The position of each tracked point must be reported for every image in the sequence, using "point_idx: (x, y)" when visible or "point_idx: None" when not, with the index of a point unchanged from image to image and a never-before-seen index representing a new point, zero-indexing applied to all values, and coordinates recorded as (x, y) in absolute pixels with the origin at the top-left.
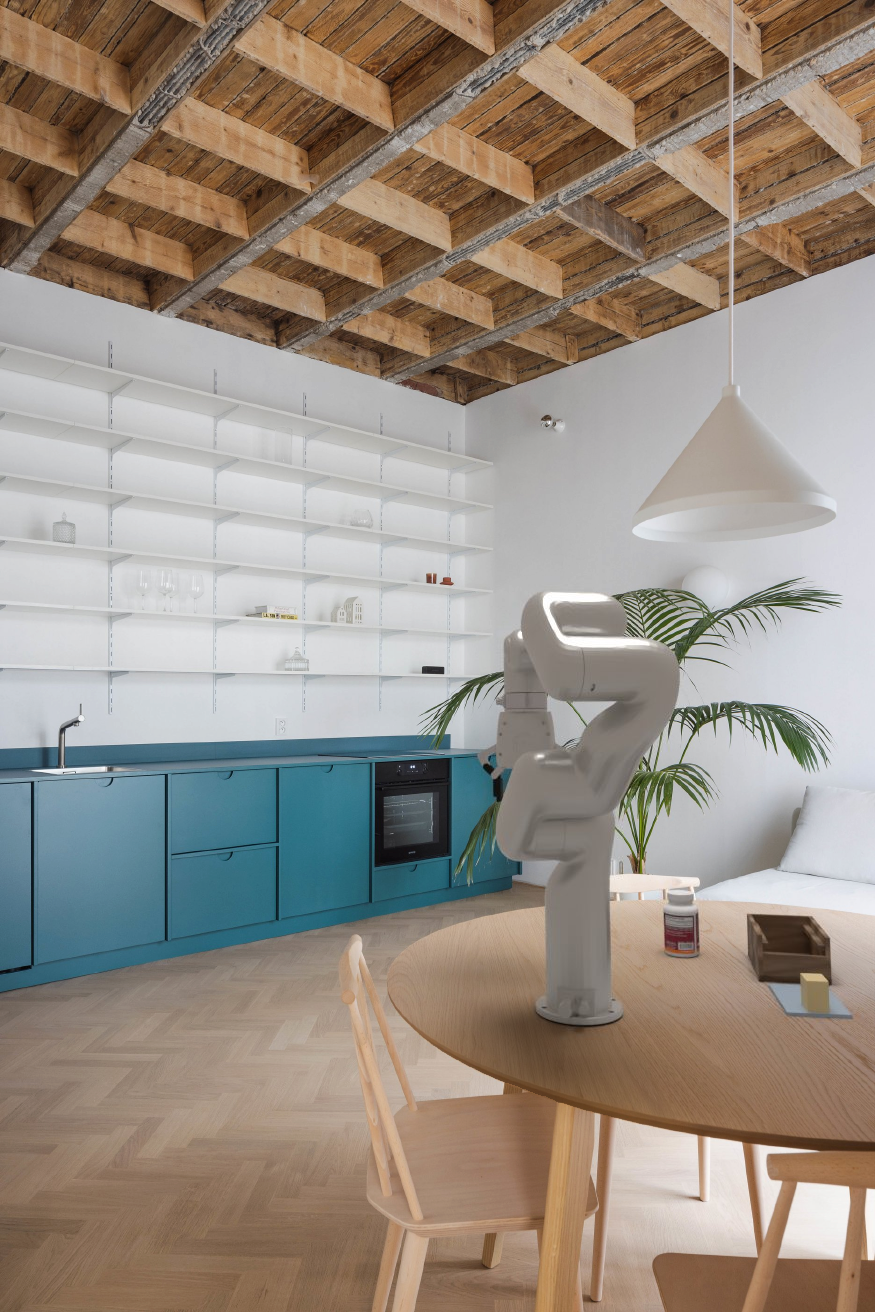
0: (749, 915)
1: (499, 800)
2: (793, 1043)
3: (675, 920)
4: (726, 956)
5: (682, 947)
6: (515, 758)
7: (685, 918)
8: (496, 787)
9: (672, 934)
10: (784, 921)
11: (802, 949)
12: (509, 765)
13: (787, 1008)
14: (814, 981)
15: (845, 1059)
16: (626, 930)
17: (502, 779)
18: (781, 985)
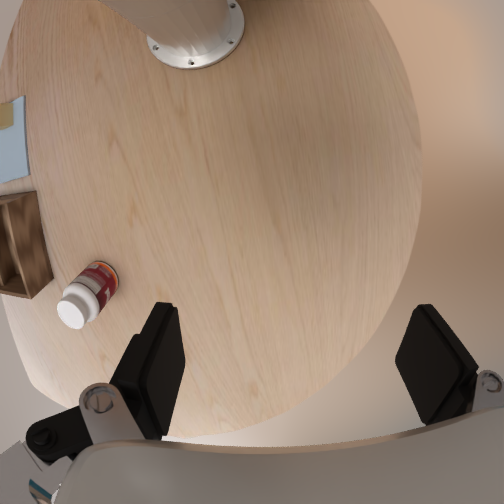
0: (27, 290)
1: (420, 308)
2: (35, 35)
3: (85, 281)
4: (67, 273)
5: (93, 265)
6: (459, 489)
7: (74, 281)
8: (458, 340)
9: (97, 275)
10: (11, 289)
11: (17, 275)
12: (478, 424)
13: (21, 105)
14: None
15: (19, 25)
16: None
17: (427, 418)
18: (21, 173)
